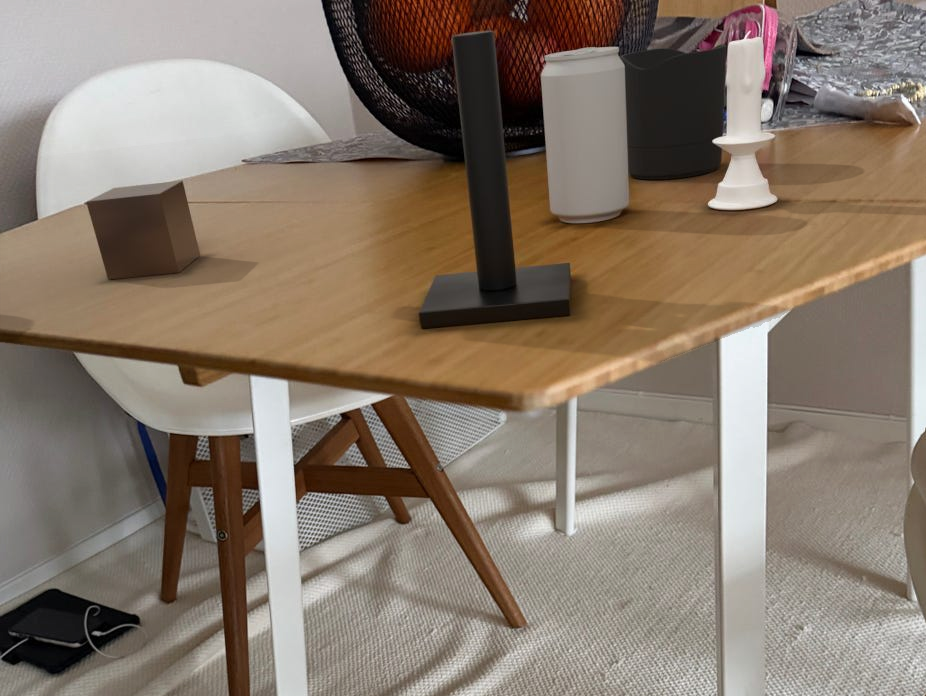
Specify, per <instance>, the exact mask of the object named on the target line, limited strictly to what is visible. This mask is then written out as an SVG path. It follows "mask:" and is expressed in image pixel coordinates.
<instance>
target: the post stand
mask: <svg viewBox="0 0 926 696" xmlns="http://www.w3.org/2000/svg"><path fill="white" fill-rule="evenodd" d="M495 38H496V37H495V31H494V30H482V31H481V30H480V31H473V32H465V33H458V34H453V35H452V36H451V44H452V53H453V62H454V71H455V79H456V80H455V81H456V91H457V101H458V107H459V108H458V109H459V117H460V127H461V136H462V137H461V138H462V144H463V146H462V147H463V154H464V165H465V173H466V182H467V191H468V201H469V209H470V210H469V211H470V219H471V220H470V221H471V231H472V237H473V247H474V255H475V256H474V257H475V265H476V271H469V272H468V271H467V272H458V273H457V272H456V273H448V274H447V273H446V274H436V275H435V276H434V278H433V280H432V282H431V285H430V287H429V289H428V290H427V293H426V296H425V298H424V300H423V302H422V305H421V307H420V309H419V312H418V317H419V323H420V328H421V330H422V329H433V328H443V327H444V328H445V327H455V326H467V325H477V324H489V323H490V324H491V323H498V322H511V321H523V320H533V319H534V320H535V319H543V318H545V319H546V318H557V317H567V316H571V288H572V287H571V286H572V282H571V281H572V276H571V264H570V262H563V263H553V264H540V265H531V266H521V267H516V259H515V249H514V238H513V227H512V226H513V225H512V215H511V204H510V193H509V192H510V191H509V183H508V171H507V161H506V160H507V159H506V149H505V136H504V128H503V127H504V125H503V114H502V106H501V105H502V104H501V94H500V84H499V83H500V82H499V71H498V61H497V60H498V59H497V50H496V49H497V48H496V39H495Z"/></svg>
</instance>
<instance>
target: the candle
mask: <svg viewBox="0 0 926 696" xmlns="http://www.w3.org/2000/svg"><path fill="white" fill-rule="evenodd" d="M751 32H752V30H749V31H748V32H747V33H746V34H745V36H744V38H743V39H738V40H733V41H730V42H728V45H727V54H726V74H725V87H726V135H722V137H719V138H716V139H714V140H713V141H712V142H713V143H714V144H715V145H717V146H719V147H720V148H722V150H724V151H725V152H726V153H728V154H730V155H731V156H730V161H729V163H728V167H727V170H726V172H725V175H724V177H723V179H722V181H720V182H718V184H717V189H716V194H715V197H714V198H712V199H710V200H709V201H708V203H707V206H708V207H709V208H711V209H714V210H720V211H742V210H753V209H759V208H764V207H767V206H768V207H769V206H770V205H773V204H774V203H776V202H778V196H776V195H775V194H773V193H771V190H770V185H769V180H768V179H767V178H765V177H764V176H763V174H762V171H761V169H760V165H759V164H758V161H757V157H756V152H758V151H759V150H760V149H761V148H763V147H764V146H766V145H767V144H768V143H770V141H772V140H773V139H774V138H776V134H774V133H771V132H762V91H763V85H764V84H765V83H764V82H765V81H766V65H765V57H764V55H765V53H764V51H765V49H764V47H765V45H764V40H763V38H762V37H761V36H756V37H753V38H748V36H750V35H749V34H750V33H751Z"/></svg>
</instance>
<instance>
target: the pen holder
mask: <svg viewBox="0 0 926 696" xmlns="http://www.w3.org/2000/svg"><path fill="white" fill-rule="evenodd" d="M727 48H728V45H727V44H726V43H725V44H719V45H716V46H714V47H713V48H711V49H705V50H699V51H693V52H685V51H682V50H678V49H675V48H668V47H667V48H652V49H645V50H640V51H639V50H638V51H634V52H629V53H625V54H622V55H620V56H619V55H618V56H619V58H620V59H621V60H622V62H623V64H624V65H625V91H626V120H627V150H628V174H629V175H630V177H632V178H634V179H639V180H673V179H682V178H689V177H695V176H701V175H705V174H708V173H711V172H714V171H716V170H718V169H719V166H720V165H721V163H722V158H723V157H722V154H723V149H722V148H720V147H719V146H717V145H715V144H714V143H713V142H712V141H713V140H714V139H716V138H719V137H722V136H724V122H725V121H724V120H725V119H724V118H725V98H726V97H725V96H726V95H725V92H726V73H727Z"/></svg>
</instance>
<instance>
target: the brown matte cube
mask: <svg viewBox="0 0 926 696" xmlns="http://www.w3.org/2000/svg"><path fill="white" fill-rule="evenodd" d="M188 201H189V200H188V198H187V193H186V189H185V184H184V182H183V180H174V181H163V182H157V183H156V182H155V183H146V184H138V185H137V184H136V185H127V186H120V187H113V188H111V189H109V190H107V191H104V192H102V193H101V194H98V195H97V196H95V197H93V198H91V199H89V200H87V201H85V203H86V207H87V210H88V213H89V217H90V221H91V224H92V228H93V231H94V235H95V238H96V241H97V245H98V249H99V252H100V256H101V259H102V263H103V267H104V270H105V274H106V277H107V280H108V281H109V280H120V279H130V278H139V277H140V278H141V277H149V276H150V277H151V276H160V275H171V274H178V273H180V272H182V271H183V270H184V269H186V268H187V267H188V266H189V265H191V263H193V262H194V261H195V260H197V259H198V258H199V257H200V256H201V253H200V248H199V243H198V240H197V235H196V231H195V227H194V222H193V219H192V215H191V211H190V210H191V209H190V206H189V203H188Z"/></svg>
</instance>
